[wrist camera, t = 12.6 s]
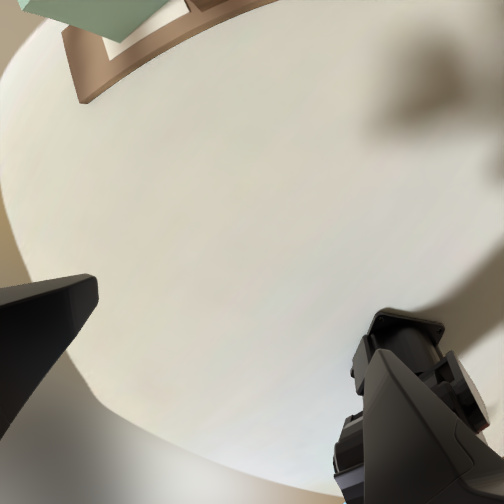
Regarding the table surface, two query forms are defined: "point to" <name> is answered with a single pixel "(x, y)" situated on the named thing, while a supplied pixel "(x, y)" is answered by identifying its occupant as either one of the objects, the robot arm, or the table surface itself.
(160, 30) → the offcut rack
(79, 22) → the mint green block
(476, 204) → the table surface
